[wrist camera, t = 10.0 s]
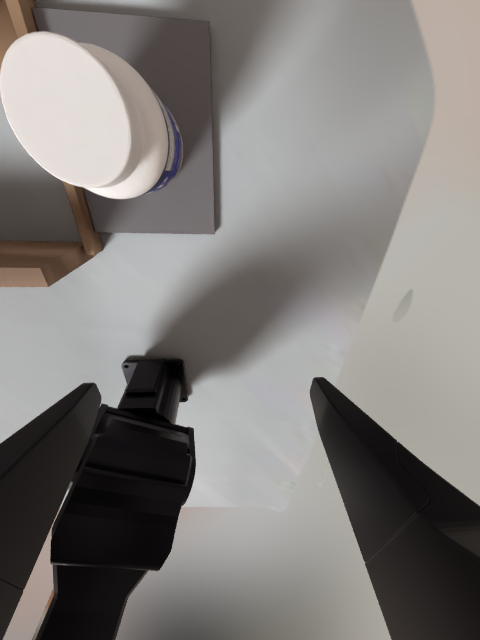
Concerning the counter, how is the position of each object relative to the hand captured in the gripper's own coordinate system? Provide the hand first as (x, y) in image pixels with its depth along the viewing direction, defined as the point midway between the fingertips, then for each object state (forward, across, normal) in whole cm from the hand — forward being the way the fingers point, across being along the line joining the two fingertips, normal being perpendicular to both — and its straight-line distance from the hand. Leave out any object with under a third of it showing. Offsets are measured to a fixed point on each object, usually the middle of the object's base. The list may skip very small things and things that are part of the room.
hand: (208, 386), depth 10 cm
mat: (+13, +4, -9) cm, 16 cm away
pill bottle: (+13, +4, -9) cm, 16 cm away
